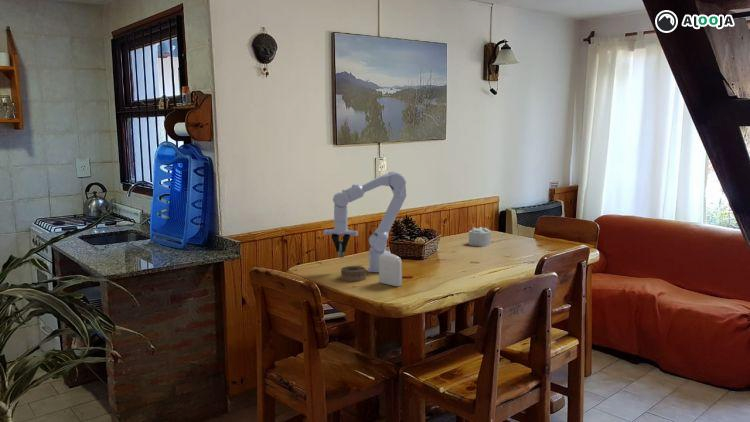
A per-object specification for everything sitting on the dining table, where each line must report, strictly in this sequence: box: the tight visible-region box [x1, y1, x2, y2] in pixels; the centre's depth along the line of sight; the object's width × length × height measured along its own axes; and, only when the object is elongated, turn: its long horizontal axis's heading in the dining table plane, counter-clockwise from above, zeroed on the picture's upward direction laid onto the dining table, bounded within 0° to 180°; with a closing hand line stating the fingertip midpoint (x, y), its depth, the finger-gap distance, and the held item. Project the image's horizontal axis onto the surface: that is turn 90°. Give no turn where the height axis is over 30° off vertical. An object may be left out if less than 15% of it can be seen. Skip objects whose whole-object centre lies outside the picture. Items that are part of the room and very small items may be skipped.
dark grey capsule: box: [337, 240, 345, 259], centre depth 252 cm, size 2×2×7 cm
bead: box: [340, 265, 367, 282], centre depth 243 cm, size 10×10×4 cm
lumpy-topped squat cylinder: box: [468, 226, 492, 247], centre depth 315 cm, size 10×13×9 cm
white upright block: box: [378, 253, 403, 287], centre depth 234 cm, size 10×4×12 cm, turn 47°
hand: (341, 251), depth 253 cm, fingers closed on dark grey capsule, 2 cm apart
